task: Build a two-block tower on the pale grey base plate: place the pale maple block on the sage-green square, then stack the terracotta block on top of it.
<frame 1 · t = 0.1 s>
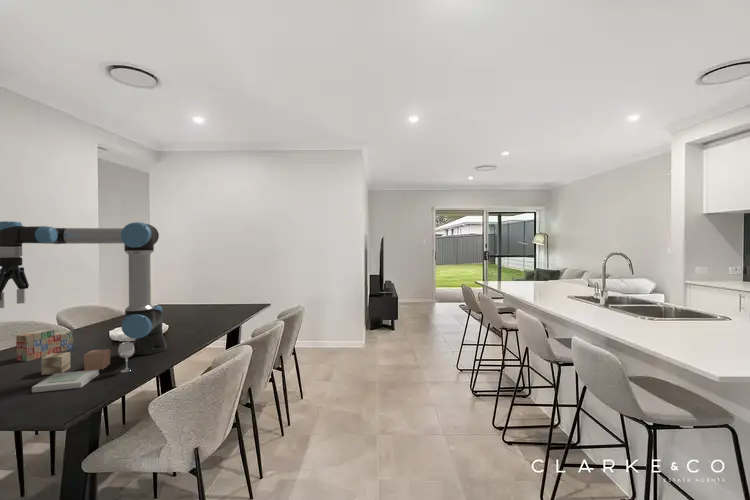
hand: (10, 305, 155), 28 cm above the table, tool pointing down, fingers open, 13 cm apart
stack of blocks: (46, 355, 178), on the table
maple block: (56, 371, 153), on the table
terracotta block: (97, 367, 157), on the table
base plate: (67, 382, 139), on the table
wineglass: (126, 371, 153), on the table
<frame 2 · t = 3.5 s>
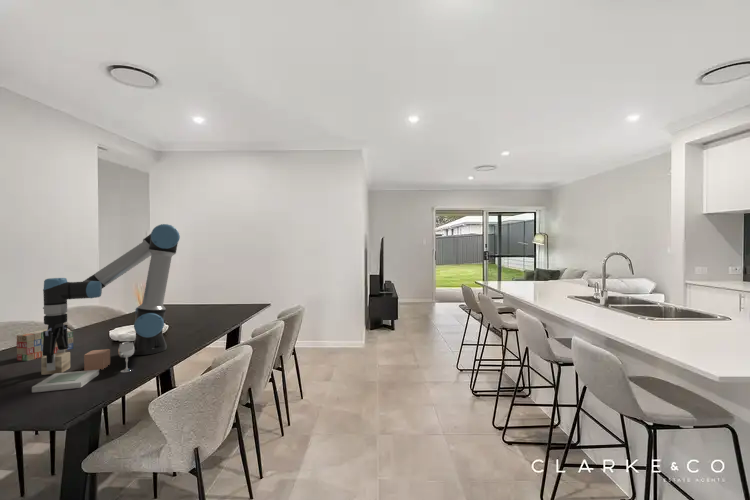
hand: (56, 367, 153), 2 cm above the table, tool pointing down, fingers closed on maple block, 7 cm apart
maple block: (56, 371, 153), on the table, touching gripper
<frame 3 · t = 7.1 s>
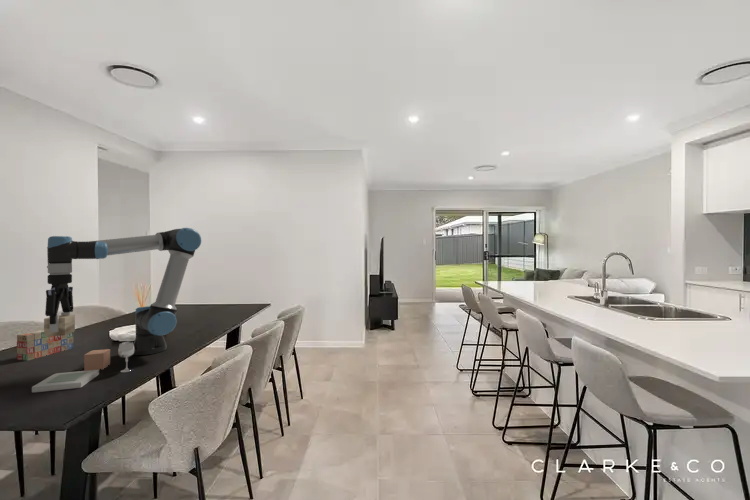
hand: (60, 329, 146), 19 cm above the table, tool pointing down, fingers closed on maple block, 7 cm apart
maple block: (59, 333, 146), point 18 cm above the table, touching gripper
when the fingers open (5 cm above the table, at t = 10.8 s): maple block drops 1 cm, resting on base plate.
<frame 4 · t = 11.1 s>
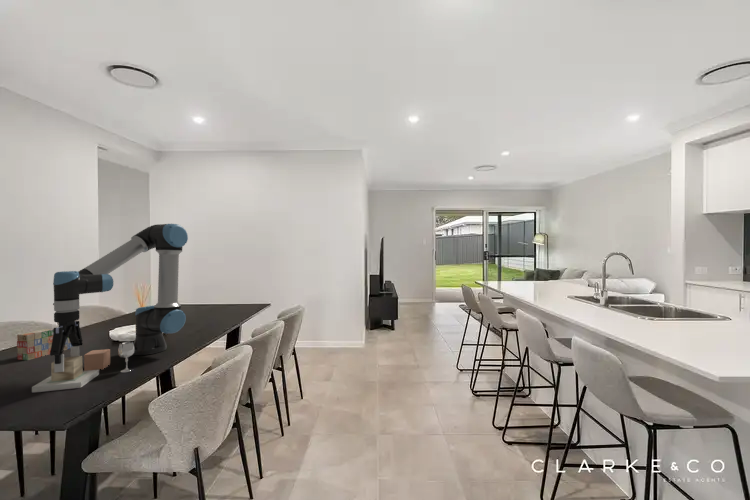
hand: (67, 367, 139), 6 cm above the table, tool pointing down, fingers open, 11 cm apart
maple block: (67, 377, 139), point 2 cm above the table, touching base plate
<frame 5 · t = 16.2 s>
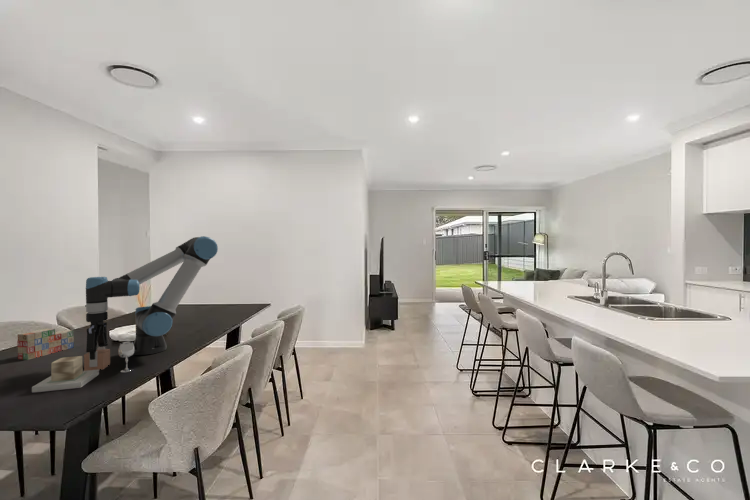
hand: (97, 363, 157), 2 cm above the table, tool pointing down, fingers closed on terracotta block, 7 cm apart
terracotta block: (97, 367, 157), on the table, touching gripper
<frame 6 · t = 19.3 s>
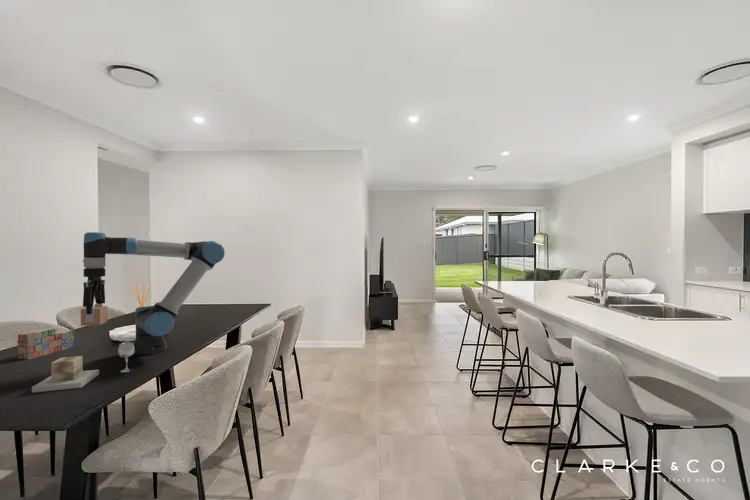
hand: (94, 319, 156), 21 cm above the table, tool pointing down, fingers closed on terracotta block, 7 cm apart
terracotta block: (94, 323, 156), point 20 cm above the table, touching gripper
when the fingers open (12 cm above the table, at t = 22.8 s): terracotta block drops 1 cm, resting on maple block.
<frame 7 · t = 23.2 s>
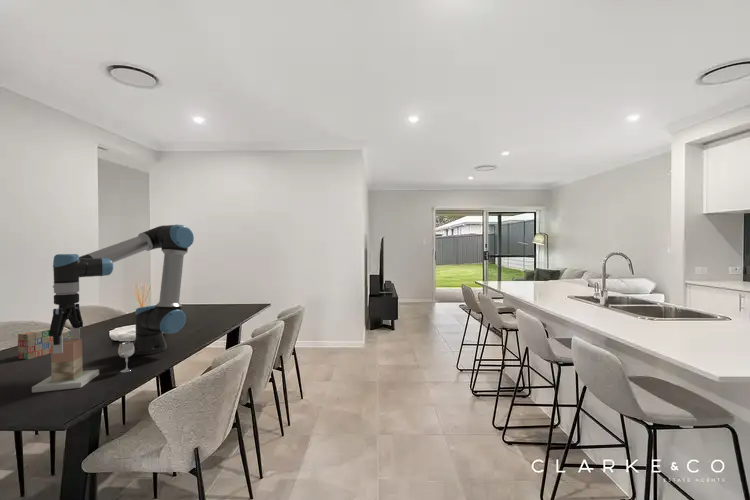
hand: (67, 348, 139), 13 cm above the table, tool pointing down, fingers open, 12 cm apart
maple block: (67, 377, 139), point 2 cm above the table, touching base plate, terracotta block
terracotta block: (67, 359, 139), point 9 cm above the table, touching maple block
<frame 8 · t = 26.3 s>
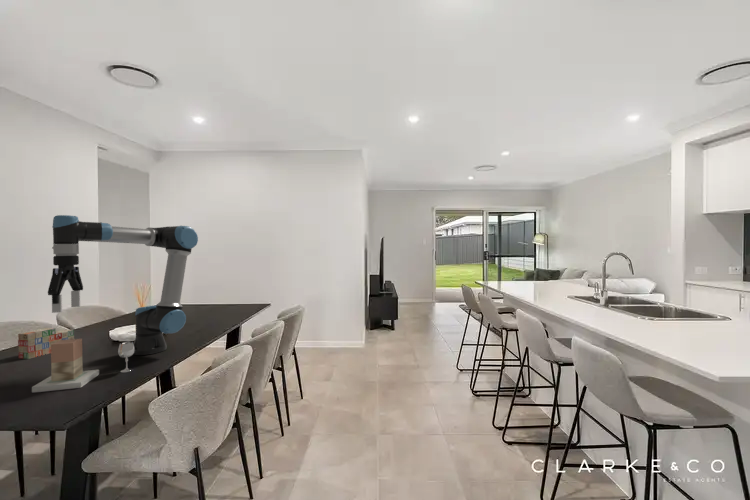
hand: (66, 309, 139), 29 cm above the table, tool pointing down, fingers open, 13 cm apart
at the end: maple block 0.0 cm off-centre on the base plate, point 2.2 cm above the base plate's base; terracotta block 0.0 cm off-centre on the maple block, point 7.0 cm above the maple block's base; terracotta block tilted 0° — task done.
